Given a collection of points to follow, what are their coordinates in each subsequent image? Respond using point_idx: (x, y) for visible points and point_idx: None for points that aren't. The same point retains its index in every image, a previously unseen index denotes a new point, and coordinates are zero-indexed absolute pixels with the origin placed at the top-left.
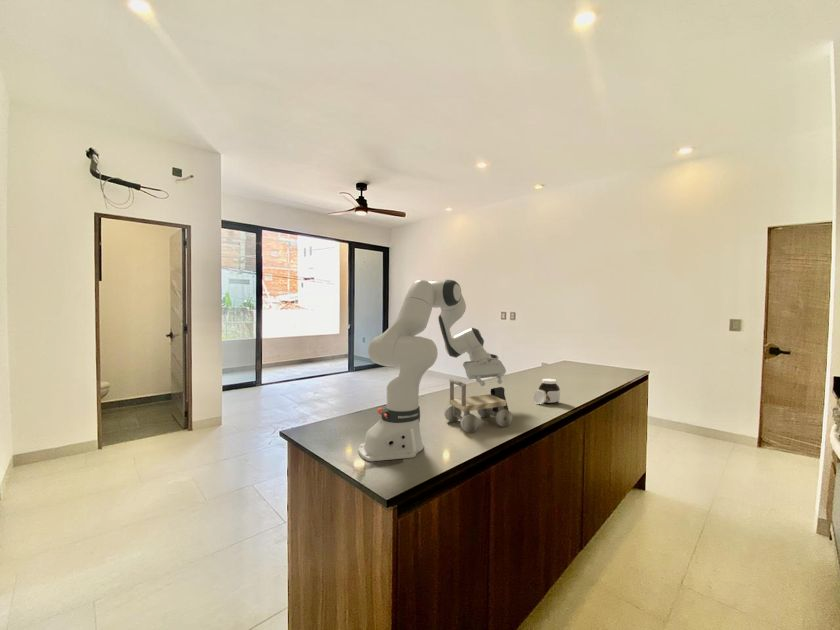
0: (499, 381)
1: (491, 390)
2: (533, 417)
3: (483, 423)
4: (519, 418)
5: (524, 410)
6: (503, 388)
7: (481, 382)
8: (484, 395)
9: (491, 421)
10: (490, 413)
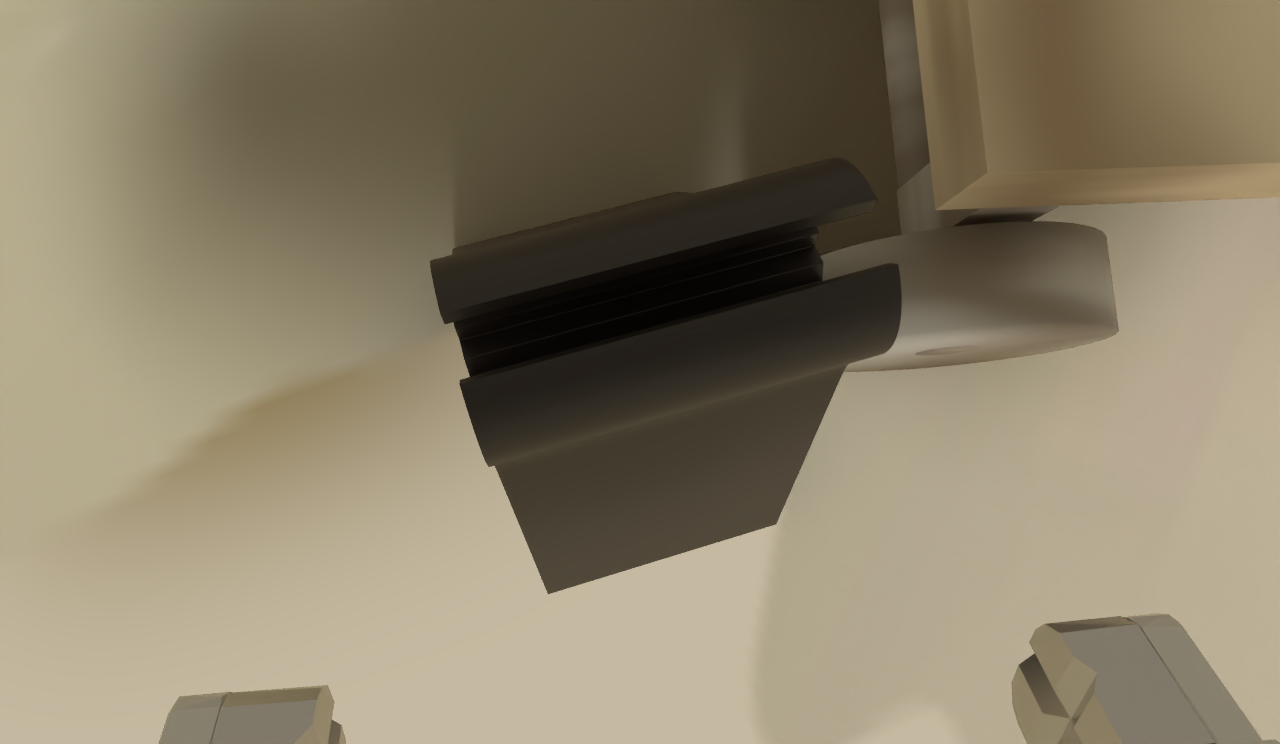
0: (316, 708)
1: (868, 330)
2: (147, 7)
3: None
4: (404, 52)
5: (7, 404)
6: (453, 266)
7: (1212, 695)
8: (1175, 120)
9: None
10: None
